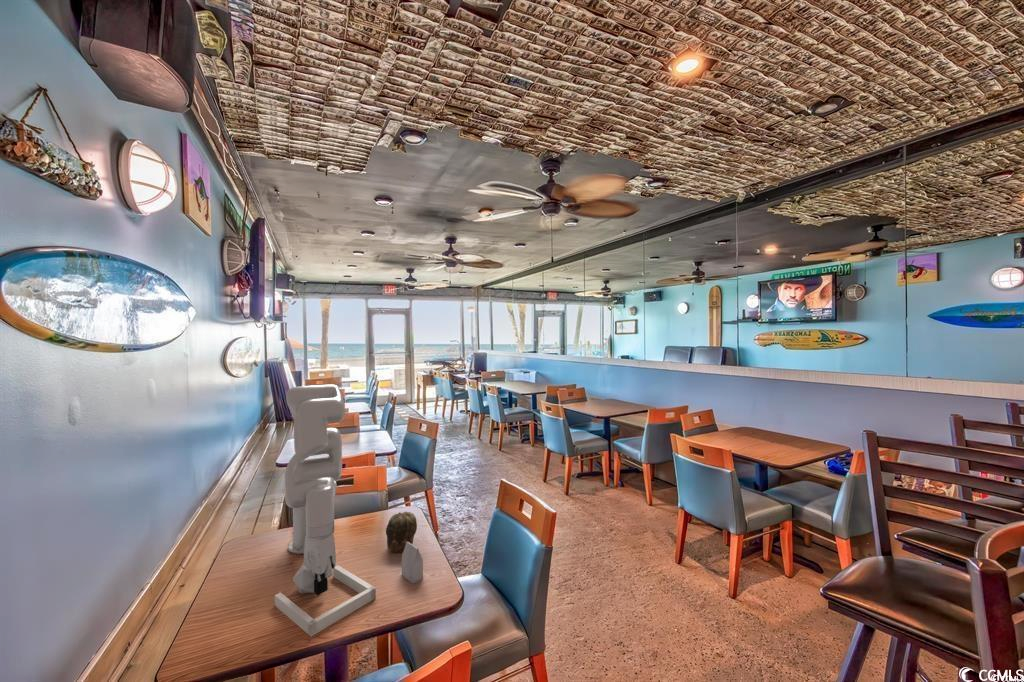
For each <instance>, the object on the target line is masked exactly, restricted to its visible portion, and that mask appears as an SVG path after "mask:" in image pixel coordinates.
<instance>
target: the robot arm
mask: <svg viewBox="0 0 1024 682" xmlns="http://www.w3.org/2000/svg"><path fill="white" fill-rule="evenodd" d="M285 400H286V404H287V407H288V409H289V411H290V413H291V415H292V419H293V446H294V447H293V448H294V454H293V455H292V457H291V458H290V459H289V461H288V463H287V466H286V468H285V471H284V481H283V483H284V500H285V504H286V506H287V507H288V508H291V509H292V532H291V535H292V540H291V542H290V543H289V544H288V546H287V548H288V549H287V550H288V552H290V553H291V554H297V555H298V554H299V555H301V554H303V563H304V566H305V567H306V568H308V569H309V570H311V571H313V578H314V579H315V580H314V593H313V594H315V595H316V596H319V595H322V594H323V593H325V592H327V591H328V588H329V587H328V584H329V583H328V582H329V581H328V578H330V577H331V576H333V569H334V568H335V566H337V564H336V561H337V559H336V558H337V555H336V543H335V536H334V535H335V534H334V533H335V495H337V491H338V487H337V486H338V485H337V481H338V480H340V479H341V477H342V472H343V455H342V454H343V453H342V452H343V451H342V450H343V448H342V447H343V445H342V444H343V443H342V435H341V431H340V430H339V429H338V428H337V427H328V424H329V423H340V422H342V421H343V420H344V419H345V415H346V406H345V401H344V398H343V395H342V391H341V389H340V387H339V386H338V385H336V384H316V385H314V384H313V385H300V386H295V387H291V388H289V389H288V390H286V393H285ZM321 455H328V456H324V457H323V456H322V457H314V458H309V457H313V456H321Z"/></svg>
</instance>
